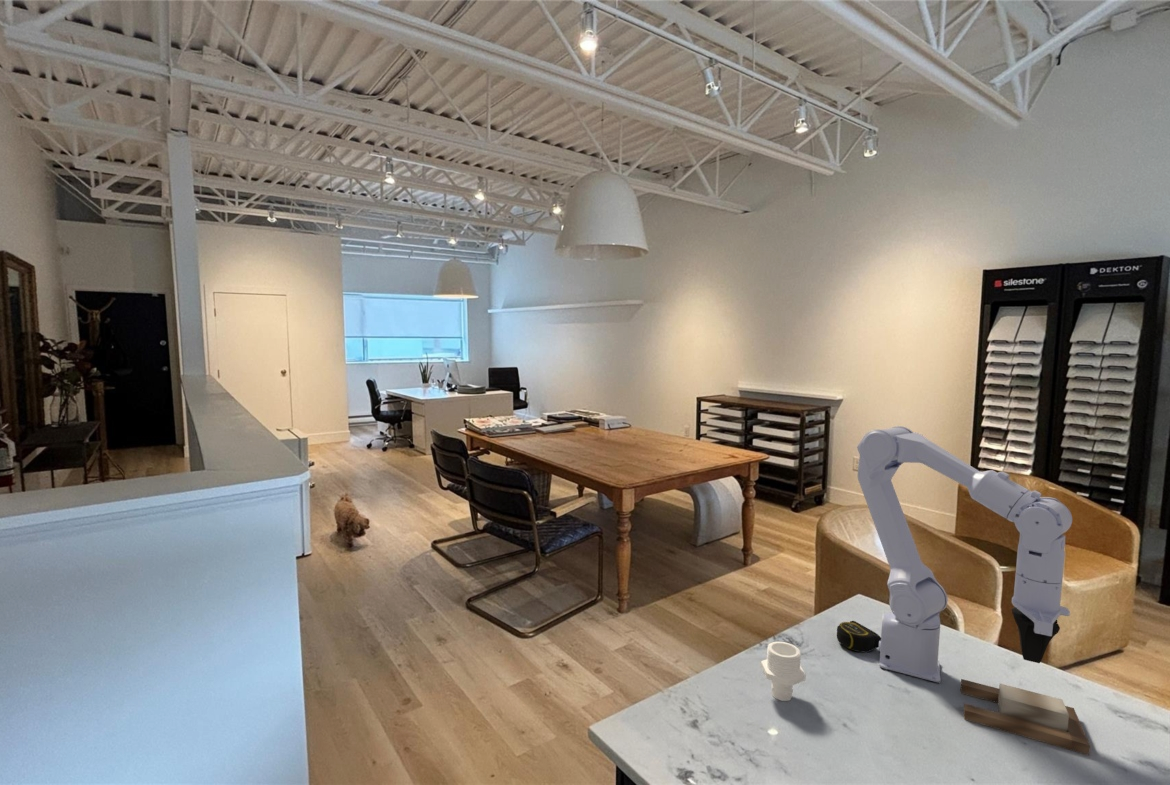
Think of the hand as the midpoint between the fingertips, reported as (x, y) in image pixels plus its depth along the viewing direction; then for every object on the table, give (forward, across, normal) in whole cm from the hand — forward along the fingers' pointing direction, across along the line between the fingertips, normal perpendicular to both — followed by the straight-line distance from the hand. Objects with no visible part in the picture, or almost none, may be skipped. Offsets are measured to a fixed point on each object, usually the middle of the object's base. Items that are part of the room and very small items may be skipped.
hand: (1031, 659), depth 90 cm
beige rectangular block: (+10, -1, 0) cm, 10 cm away
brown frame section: (+9, -1, +2) cm, 10 cm away
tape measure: (+10, +10, +25) cm, 29 cm away
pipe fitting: (+10, -16, +34) cm, 39 cm away
